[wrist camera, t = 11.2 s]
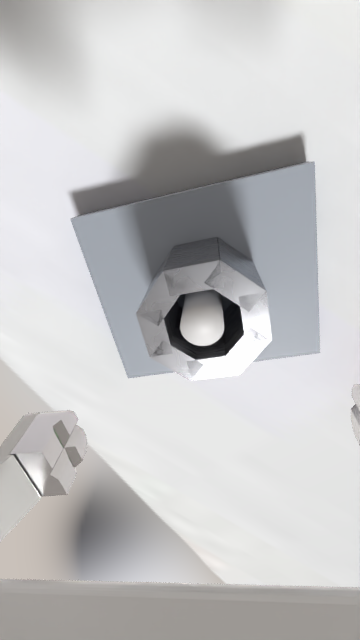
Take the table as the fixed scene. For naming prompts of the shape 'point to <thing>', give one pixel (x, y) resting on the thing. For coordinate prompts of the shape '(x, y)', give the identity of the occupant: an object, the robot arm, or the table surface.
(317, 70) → the table surface
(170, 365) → the ring
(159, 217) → the shaft block
